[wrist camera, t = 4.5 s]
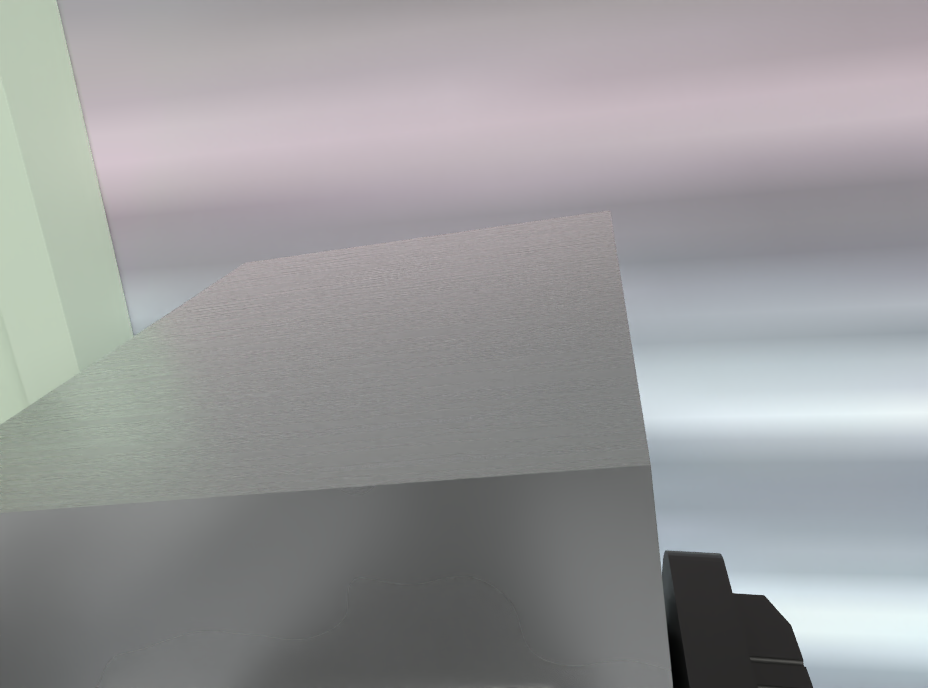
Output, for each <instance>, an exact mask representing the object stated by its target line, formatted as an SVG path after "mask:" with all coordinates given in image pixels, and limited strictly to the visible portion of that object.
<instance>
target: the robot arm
mask: <svg viewBox="0 0 928 688" xmlns="http://www.w3.org/2000/svg"><path fill="white" fill-rule="evenodd" d="M662 583H663V593H664V603H665V613H666V623H667V632H668V642H669V652H670V662H671V672H672V682H673V688H813V686H812V683H811V680H810V677H809V674H808V672H807V669H806V667H804V665H803V658H802V655H801V652H800V649H799V646H798V643H797V641H796V638H795V635H794V632H793V629H792V627H791V625H790V624H789V623H788V621H787V620H786V619H785V618H784V617H783V616H782V615H781V614H780V612H779V611H778V610H777V609H776V608H775V607H774V606H773V605H772V604H771V602H770V601H769V600H768V599H767V598H766V597H765V596H764V595H750V594H734V593H732V589H731V586H730V582H729V578H728V574H727V571H726V567H725V563H724V560H723V557H722V555H721V554H719V553H702V552H684V551H665V553H664V558H663V569H662Z"/></svg>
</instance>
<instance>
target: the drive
mask: <svg viewBox="0 0 928 688" xmlns="http://www.w3.org/2000/svg"><path fill="white" fill-rule="evenodd" d="M0 688H673V682H672V672H671V662H670V652H669V642H668V632H667V623H666V613H665V603H664V593H663V583H662V573H661V563H660V553H659V543H658V533H657V523H656V514H655V504H654V494H653V484H652V474H651V464H650V458H649V452H648V445H647V439H646V433H645V427H644V420H643V414H642V408H641V401H640V395H639V389H638V382H637V376H636V370H635V364H634V357H633V351H632V345H631V338H630V332H629V326H628V320H627V313H626V307H625V301H624V294H623V288H622V282H621V275H620V269H619V263H618V257H617V250H616V244H615V238H614V231H613V225H612V219H611V212H610V210H609V211H602V212H596V213H589V214H582V215H575V216H568V217H561V218H554V219H547V220H540V221H533V222H526V223H519V224H512V225H505V226H498V227H491V228H484V229H478V230H471V231H464V232H457V233H450V234H443V235H436V236H429V237H422V238H415V239H408V240H401V241H394V242H387V243H380V244H373V245H366V246H360V247H353V248H346V249H339V250H332V251H325V252H318V253H311V254H304V255H297V256H290V257H283V258H276V259H269V260H262V261H255V262H248V263H244V264H243V265H241V266H240V267H238V268H237V269H235V270H234V271H232V272H231V273H229V274H228V275H226V276H224V277H223V278H221V279H220V280H218V281H217V282H215V283H214V284H212V285H211V286H209V287H208V288H206V289H205V290H203V291H202V292H200V293H199V294H197V295H196V296H194V297H193V298H191V299H190V300H188V301H187V302H185V303H184V304H182V305H181V306H179V307H178V308H176V309H175V310H173V311H172V312H170V313H169V314H167V315H166V316H164V317H163V318H161V319H159V320H158V321H156V322H155V323H153V324H152V325H150V326H149V327H147V328H146V329H144V330H143V331H141V332H140V333H138V334H137V335H135V336H134V337H132V338H131V339H129V340H128V341H126V342H125V343H123V344H122V345H120V346H119V347H117V348H116V349H114V350H113V351H111V352H110V353H108V354H107V355H105V356H104V357H102V358H101V359H99V360H98V361H96V362H94V363H93V364H91V365H90V366H88V367H87V368H85V369H84V370H82V371H81V372H79V373H78V374H76V375H75V376H73V377H72V378H70V379H69V380H67V381H66V382H64V383H63V384H61V385H60V386H58V387H57V388H55V389H54V390H52V391H51V392H49V393H48V394H46V395H45V396H43V397H42V398H40V399H39V400H37V401H36V402H34V403H33V404H31V405H29V406H28V407H26V408H25V409H23V410H22V411H20V412H19V413H17V414H16V415H14V416H13V417H11V418H10V419H8V420H7V421H5V422H4V423H2V424H1V425H0Z"/></svg>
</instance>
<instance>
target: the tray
mask: <svg viewBox="0 0 928 688" xmlns="http://www.w3.org/2000/svg"><path fill="white" fill-rule="evenodd" d="M132 337H134V336H133V332H132V327H131V323H130V319H129V314H128V310H127V306H126V301H125V297H124V293H123V288H122V284H121V279H120V275H119V271H118V266H117V262H116V258H115V253H114V249H113V245H112V240H111V236H110V232H109V227H108V223H107V218H106V214H105V210H104V205H103V201H102V197H101V192H100V188H99V184H98V179H97V175H96V171H95V166H94V162H93V158H92V153H91V149H90V144H89V140H88V136H87V131H86V127H85V123H84V118H83V114H82V110H81V105H80V101H79V97H78V92H77V88H76V84H75V79H74V75H73V70H72V66H71V62H70V57H69V53H68V49H67V44H66V40H65V36H64V31H63V27H62V23H61V18H60V14H59V10H58V5H57V1H56V0H0V425H1V424H2V423H4V422H5V421H7V420H8V419H10V418H11V417H13V416H14V415H16V414H17V413H19V412H20V411H22V410H23V409H25V408H26V407H28V406H29V405H31V404H33V403H34V402H36V401H37V400H39V399H40V398H42V397H43V396H45V395H46V394H48V393H49V392H51V391H52V390H54V389H55V388H57V387H58V386H60V385H61V384H63V383H64V382H66V381H67V380H69V379H70V378H72V377H73V376H75V375H76V374H78V373H79V372H81V371H82V370H84V369H85V368H87V367H88V366H90V365H91V364H93V363H94V362H96V361H98V360H99V359H101V358H102V357H104V356H105V355H107V354H108V353H110V352H111V351H113V350H114V349H116V348H117V347H119V346H120V345H122V344H123V343H125V342H126V341H128V340H129V339H131V338H132Z"/></svg>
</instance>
